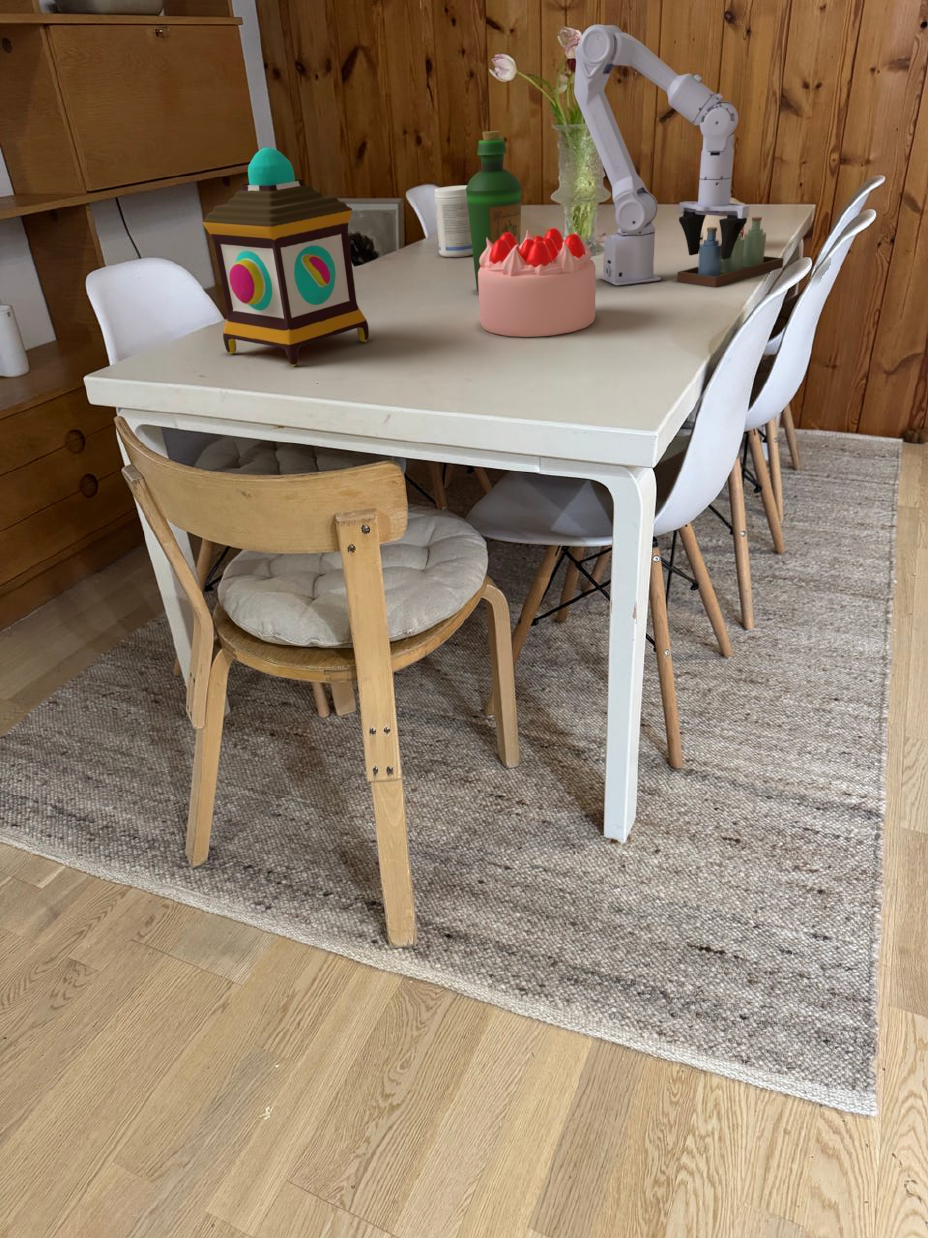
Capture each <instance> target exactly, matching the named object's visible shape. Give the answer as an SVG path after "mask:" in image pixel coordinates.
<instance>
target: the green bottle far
mask: <svg viewBox="0 0 928 1238" xmlns="http://www.w3.org/2000/svg"><path fill="white" fill-rule="evenodd" d="M762 220H763V216H759V215H755V216H752V217H751V228H748V229H747V232H744V235H743V238H745V241H744V252H743V263H742V266H743V267H751V266H754V265H758V264H761V263H763V262H764V256H765V252H766V242H767V232H765V231H764V228H762V227H761V223H762Z"/></svg>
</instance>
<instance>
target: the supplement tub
mask: <svg viewBox="0 0 928 1238" xmlns="http://www.w3.org/2000/svg"><path fill="white" fill-rule="evenodd" d="M467 185H468V184H467ZM467 185H451V186H443V187H438V188H435V189H434V208H435V218H436V230H437V231H436V233H437V243H438V252H439V255H440V256H441V257H443V258H465V257H468V256H469V257H470V256H473V250H472V241H471V232H470V223H469V213H468V204H467V195H466V187H467Z"/></svg>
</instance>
